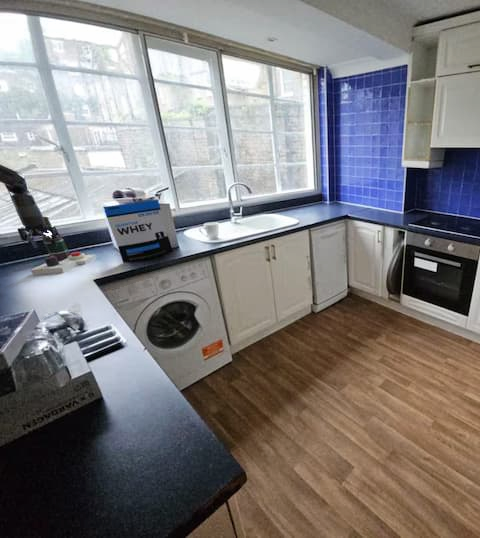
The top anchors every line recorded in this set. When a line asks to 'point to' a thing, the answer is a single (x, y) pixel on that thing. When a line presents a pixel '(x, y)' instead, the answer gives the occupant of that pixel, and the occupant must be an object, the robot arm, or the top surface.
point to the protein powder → (139, 230)
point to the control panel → (54, 268)
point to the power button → (75, 254)
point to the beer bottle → (61, 249)
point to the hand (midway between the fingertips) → (45, 247)
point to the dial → (51, 261)
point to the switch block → (81, 258)
